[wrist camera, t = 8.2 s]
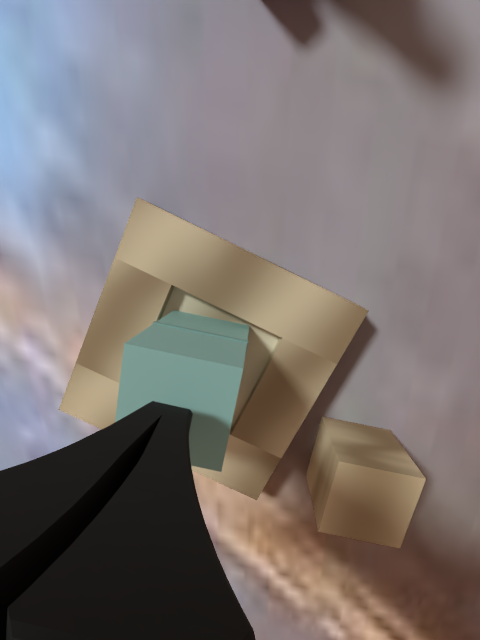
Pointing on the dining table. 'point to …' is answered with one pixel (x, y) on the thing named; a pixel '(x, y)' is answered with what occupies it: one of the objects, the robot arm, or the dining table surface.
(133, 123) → the dining table surface
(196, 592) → the robot arm
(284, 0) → the dining table surface
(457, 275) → the dining table surface
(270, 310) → the base plate
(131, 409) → the teal brick
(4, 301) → the dining table surface
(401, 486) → the maple cube
